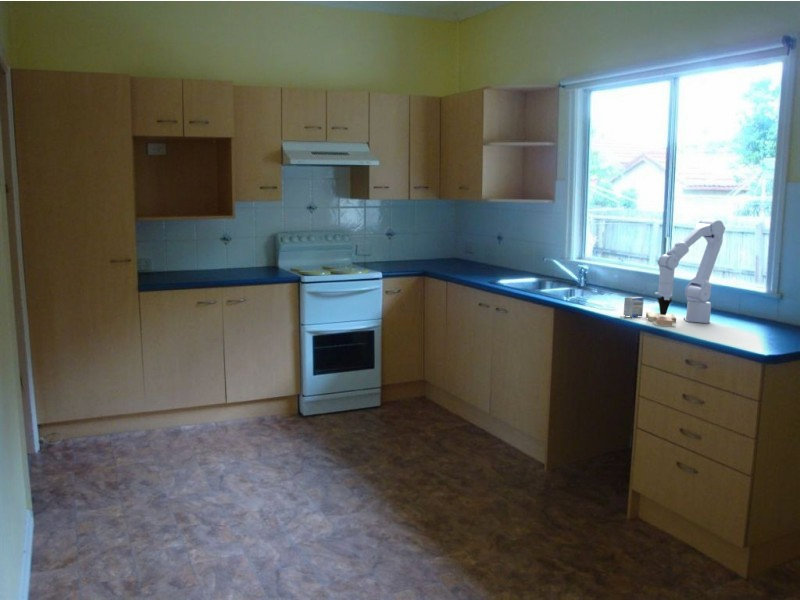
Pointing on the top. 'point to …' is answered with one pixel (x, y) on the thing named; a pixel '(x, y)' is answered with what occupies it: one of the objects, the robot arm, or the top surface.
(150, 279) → the top surface
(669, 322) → the salmon pink flat block
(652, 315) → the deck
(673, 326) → the mat
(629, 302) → the medicine box
